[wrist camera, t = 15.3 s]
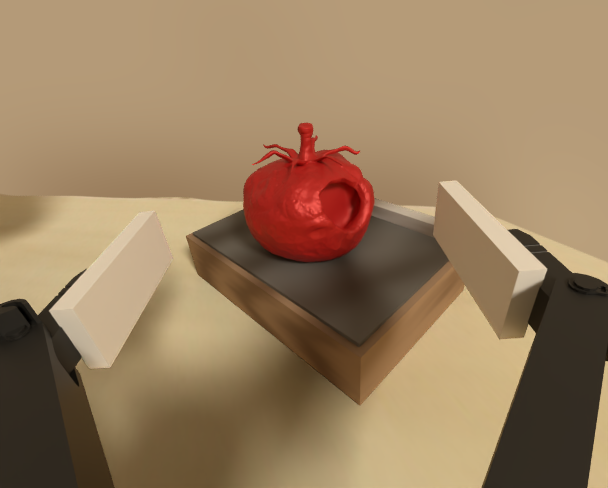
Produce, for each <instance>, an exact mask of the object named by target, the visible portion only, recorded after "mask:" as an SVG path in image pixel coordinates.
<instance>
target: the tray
mask: <svg viewBox="0 0 608 488" xmlns="http://www.w3.org/2000/svg"><path fill="white" fill-rule="evenodd" d="M374 199H375V203H374V207H373V211H372V215H371V219H370V221H369V225H368V228H367V231H366V232H365V234H364V236H363V238H362V240H361V241H360V242H359V244H358V245H357V247H355V248H354V249H353V250H351V251H350V252H349V253H347V254H346V255H343V256H341V257H338V258H335V259H332V260H327V261H316V262H301V261H295V260H291V259H287V258H284V257H282V256H277V255H275V254H272V253H271V252H269V251H267V250H266V249H265V248H264V247H262V246H261V245H260V243H259V242H258V241H257V240H256V239H255V238H254V237H253V236H252V234H251V232H250V230H249V227H248V225H247V223H246V219H245V215H244V209H243V210H241V211H239V212H237V213H235V214H232V215H230V216H228V217H226V218H224V219H221V220H219V221H217V222H215V223H213V224H211V225H208V226H206V227H204V228H202V229H200V230H198V231H195V232H193V233H191V234H189V235H187V236H186V238H187V241H188V244H189V248H190V251H191V254H192V257H193V260H194V263H195V266H196V269H197V272H198V275H199V276H201V277H202V278H203V279H204V280H206V281H207V282H208V283H209V284H210V285H212V286H213V287H214V288H215V289H217V290H218V291H219V292H220V293H222V294H223V295H224V296H225V297H227V298H228V299H229V300H230V301H231V302H233V303H234V304H235V305H236V306H238V307H239V308H240V309H241V310H243V311H244V312H245V313H246V314H248V315H249V316H250V317H251V318H252V319H254V320H255V321H256V322H257V323H259V324H260V325H261V326H262V327H264V328H265V329H266V330H267V331H269V332H270V333H271V334H272V335H273V336H275V337H276V338H277V339H278V340H280V341H281V342H282V343H283V344H285V345H286V346H287V347H288V348H290V349H291V350H292V351H293V352H294V353H296V354H297V355H298V356H299V357H301V358H302V359H303V360H304V361H306V362H307V363H308V364H309V365H311V366H312V367H313V368H314V369H315V370H317V371H318V372H319V373H320V374H322V375H323V376H324V377H325V378H327V379H328V380H329V381H330V382H332V383H333V384H334V385H335V386H336V387H338V388H339V389H340V390H341V391H343V392H344V393H345V394H346V395H348V396H349V397H350V398H351V399H352V400H354V401H355V402H356V403H357V404H359V405H361V404H362V403H363V402H364V401H365V399H366V398H367V397H368V396H369V395H370V394H371V393H372V392H373V390H374V389H375V388H376V387H377V386H378V385H379V384H380V383H381V381H382V380H383V379H384V378H385V377H386V376H387V375H388V374H389V373H390V371H391V370H392V369H393V368H394V367H395V366H396V365H397V364H398V362H399V361H400V360H401V359H402V358H403V357H404V356H405V355H406V354H407V352H408V351H409V350H410V349H411V348H412V347H413V346H414V345H415V343H416V342H417V341H418V340H419V339H420V338H421V337H422V336H423V335H424V333H425V332H426V331H427V330H428V329H429V328H430V327H431V326H432V324H433V323H434V322H435V321H436V320H437V319H438V318H439V317H440V315H441V314H442V313H443V312H444V311H445V310H446V309H447V308H448V307H449V305H450V304H451V303H452V302H453V301H454V300H455V299H456V298H457V296H458V295H459V294H460V293H461V292H462V291H463V289H464V285H465V284H464V283H463V281H462V280H461V278H460V276H459V275H458V273H457V272H456V270H455V269H454V267H453V265H452V264H451V262H450V261H449V259H448V258H447V256H446V255H445V253H444V251H443V250H442V248H441V247H440V245H439V244H438V242H437V240H436V239H435V237H434V236H433V230H434V221H435V217H433V216H430V215H427V214H424V213H421V212H417V211H414V210H411V209H408V208H405V207H401V206H398V205H395V204H392V203H388V202H385V201H382V200H379V199H376V198H374Z"/></svg>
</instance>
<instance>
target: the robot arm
mask: <svg viewBox="0 0 608 488" xmlns="http://www.w3.org/2000/svg"><path fill="white" fill-rule="evenodd" d="M433 236H434V237H435V239H436V240H437V242H438V244H439V245H440V247H441V248H442V250H443V251H444V253H445V255H446V256H447V258H448V259H449V261H450V262H451V264H452V265H453V267H454V269H455V270H456V272H457V273H458V275H459V276H460V278H461V280H462V281H463V283H464V284H465V286H466V287H467V289H468V291H469V292H470V294H471V295H472V297H473V298H474V300H475V302H476V303H477V305H478V306H479V308H480V309H481V311H482V313H483V314H484V316H485V317H486V319H487V320H488V322H489V324H490V325H491V327H492V328H493V330H494V331H495V333H496V335H497V336H498V338H499V339H509V338H523V337H524V335H525V333H526V330H527V327H528V324H529V325H530V326H531V327H532V329H533V330H534V331H535V333H536V336H535V338H534V341H533V344H532V346H531V349H530V352H529V355H528V358H527V361H526V364H525V366H524V369H523V372H522V375H521V378H520V381H519V383H518V386H517V389H516V392H515V395H514V398H513V400H512V403H511V406H510V409H509V412H508V414H507V417H506V420H505V423H504V426H503V429H502V431H501V434H500V437H499V440H498V443H497V446H496V448H495V451H494V454H493V457H492V460H491V463H490V465H489V468H488V471H487V474H486V477H485V479H484V482H483V485H482V488H587V486H588V479H589V472H590V465H591V458H592V451H593V444H594V437H595V430H596V423H597V416H598V409H599V402H600V395H601V388H602V381H603V374H604V367H605V361H608V284H606V283H604V282H603V281H601V280H599V279H597V278H594V277H591V276H589V275H584V274H579V273H572V272H571V271H569V270H568V269H567V268H566V267H565V266H564V265H563V264H562V263H561V262H559V261H558V260H557V259H556V258H555V257H554V256H553V255H552V254H551V253H549V252H547V250H546V249H545V248H544V247H543V246H542V245H540V244H539V243H538V242H537V241H536V240H535V239H534V238H533V237H532V236H530V235H528V234H526V233H524V232H522V231H520V230H518V229H512V230H507V229H506V228H505V227H504V226H503V225H502V224H501V223H500V222H499V221H498V220H497V219H495V218H494V217H493V216H492V215H491V214H490V213H489V212H488V211H487V210H486V209H485V208H484V207H483V206H482V205H481V204H480V203H479V202H478V201H477V200H476V199H475V198H474V197H473V196H472V195H471V194H470V193H469V192H468V191H466V189H465V188H464V187H462V185H460V184H459V183H458V182H457V181H445V182H439V186H438V195H437V204H436V212H435V221H434V230H433ZM173 259H174V258H173V256H172V253H171V251H170V248H169V245H168V243H167V240H166V238H165V235H164V232H163V230H162V227H161V225H160V222H159V219H158V217H157V214H156V212H155V211H146V212H139V213H138V214H137V215H136V216H135V217H134V219H133V220H132V221H131V222H130V223H129V224H128V225H127V226H126V227H125V228H124V229H123V231H122V232H121V233H120V234H119V235H118V236H117V237H116V238H115V239H114V240H113V241H112V243H111V244H110V245H109V246H108V247H107V248H106V249H105V250H104V251H103V252H102V253H101V255H100V256H99V257H98V258H97V259H96V260H95V261H94V262H93V263H92V264H91V265H90V267H89V268H88V269H85V270H84V271H82V272H81V273H80V274H78V275H77V276H75V277H74V278H73V279H72V280H71V281H70V282H69V283H68V284H67V285H66V286H65V288H63V289H62V290H61V291H60V292H59V294H58V296H56V297H55V298H54V299H53V300H52V301H51V302H50V303H49V304H48V305H47V306H46V307H45V308H44V309H43V311H42V312H41V313H40V314H39V315H37V314H36V313H35V311H34V310H33V309H32V307H31V306H30V304H29V303H28V302H27V301H26V300H24V299H16V300H11V301H8V302H5V303H2V304H0V488H114V484H113V481H112V478H111V474H110V471H109V468H108V465H107V461H106V458H105V455H104V451H103V448H102V445H101V442H100V438H99V435H98V432H97V428H96V425H95V422H94V419H93V415H92V412H91V409H90V405H89V402H88V399H87V396H86V392H85V389H84V386H83V382H82V379H81V376H80V373H79V372H78V371H77V369H76V368H75V366H76V365H77V363H78V362H79V361H80V359H81V358H82V359H83V361H84V362H85V364H86V365H87V366H88V368H89V369H97V368H111V366H112V364H113V362H114V361H115V359H116V357H117V355H118V354H119V352H120V350H121V348H122V347H123V345H124V343H125V342H126V340H127V338H128V336H129V335H130V333H131V331H132V329H133V328H134V326H135V324H136V323H137V321H138V319H139V317H140V316H141V314H142V312H143V310H144V309H145V307H146V305H147V303H148V302H149V300H150V298H151V297H152V295H153V293H154V291H155V290H156V288H157V286H158V284H159V283H160V281H161V279H162V278H163V276H164V274H165V272H166V271H167V269H168V267H169V265H170V264H171V262H172V260H173Z"/></svg>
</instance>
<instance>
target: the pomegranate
mask: <svg viewBox="0 0 608 488" xmlns="http://www.w3.org/2000/svg"><path fill="white" fill-rule="evenodd" d="M298 132H299V134H300V135H301V147H300V152H299V154H297V153H296V152H295V150H293V149H287V148H283V147H280V146H279V145H277V144H274V145H270V146H265V145H264V147H265V148H273V147H277V148H279V149H281V150H283V151H285V152H287V153H288V154H289V156H290V157H289V156H287V155H284V154H281V153H279V152H278V151H274V150H273V151H270V152H269V153H267V154H266V155H265V156H264V157H263V158H262V159H261V160H260V161H258V162H257V163H260V162H261V161H263V160H265V159H267V158H269V157H270V156H272V155H273V154H276V155H277V156H279V157H281V158H283V159H280V160H277V161H274V162H272V163H269V164H268V165H265V166H264V167H262V168H259V169H258V170H257V171H255V172H254V173H253V174H251V175H250V176H249V178H248V179H247V180H246V183H245V185H244V191H243V192H244V193H243V194H244V203H243V207H244V215H245V219H246V223H247V225H248V227H249V230H250V232H251V234H252V236H253V237H254V238H255V239H256V240H257V241H258V242H259V243H260V245H261V246H262V247H264V248H265V249H266V250H267V251H269V252H271V253H272V254H275V255H277V256H282V257H284V258H287V259H291V260H295V261H301V262H316V261H327V260H332V259H335V258H338V257H341V256H343V255H346V254H347V253H349V252H350V251H351V250H353V249H354V248H355V247H357V245H358V244H359V242H360V241H361V240H362V238H363V236H364V234H365V232H366V231H367V228H368V225H369V221H370V219H371V215H372V211H373V207H374V203H375V199H374V192H373V188H372V185H371V184H370V183H369V181H368V180H366V179H365V178H363V175H362V173H361V170H360V169H359V168H358V167H357V166H355V165H353V164H351V163H350V162H349V161H347V160H346V159H345V158H344V157H343V156H342V155H341V154H339V153H338V152H339V151H344V150H347V151H349V152H351V153H353V154H358V153H359V152H360V151H358V152H356V151H354V150H353V149H351V148H350V147H348V146H342V147H340V148H338V149H333V150H321V151H317V152H315V150H314V143H315V141H316V140H317V138H318V137H317V136H316V137H315V138H311V137H312V134H313V126H312V124H310V123H301V124H300V125H299V126H298ZM257 163H254V164H257ZM254 164H253V165H254Z"/></svg>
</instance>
